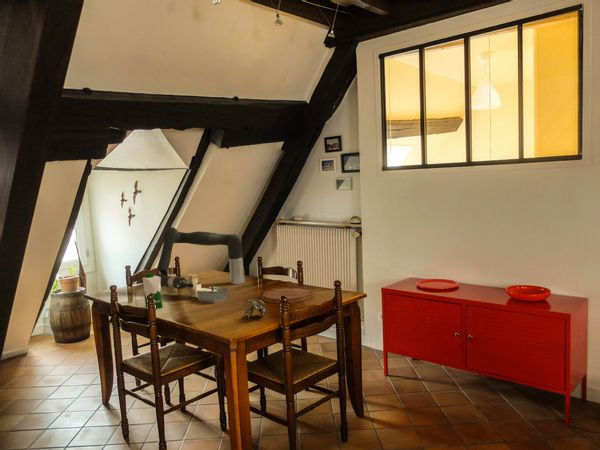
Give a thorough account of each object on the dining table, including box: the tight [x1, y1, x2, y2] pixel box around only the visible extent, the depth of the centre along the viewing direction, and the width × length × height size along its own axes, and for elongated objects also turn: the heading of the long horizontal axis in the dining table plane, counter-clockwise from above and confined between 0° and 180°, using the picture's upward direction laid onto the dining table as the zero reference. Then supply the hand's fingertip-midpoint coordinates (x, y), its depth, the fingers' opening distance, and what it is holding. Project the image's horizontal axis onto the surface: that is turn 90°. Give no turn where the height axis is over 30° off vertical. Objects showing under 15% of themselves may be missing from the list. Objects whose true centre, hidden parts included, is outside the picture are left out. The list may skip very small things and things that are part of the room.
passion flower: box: [240, 299, 266, 319], centre depth 254 cm, size 11×11×12 cm
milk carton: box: [142, 272, 163, 310], centre depth 282 cm, size 9×9×20 cm
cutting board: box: [260, 286, 316, 304], centre depth 293 cm, size 32×32×2 cm
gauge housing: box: [197, 285, 229, 304], centre depth 294 cm, size 13×12×6 cm
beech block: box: [186, 273, 199, 298], centre depth 303 cm, size 5×5×13 cm
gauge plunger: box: [194, 283, 218, 298], centre depth 297 cm, size 14×7×8 cm, turn 56°
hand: (196, 284), depth 301 cm, fingers closed on beech block, 4 cm apart
